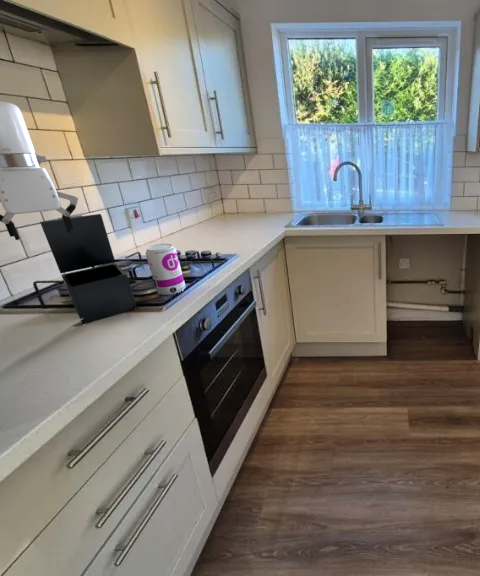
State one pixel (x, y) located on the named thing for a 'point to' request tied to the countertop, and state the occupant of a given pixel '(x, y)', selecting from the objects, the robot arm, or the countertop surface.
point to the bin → (99, 292)
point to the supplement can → (165, 269)
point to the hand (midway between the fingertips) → (44, 235)
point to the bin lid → (79, 242)
